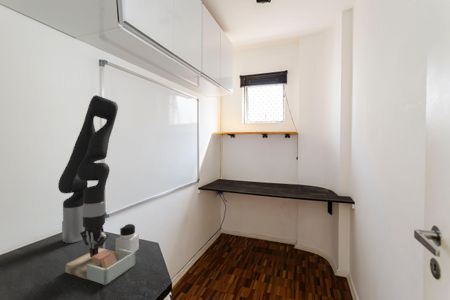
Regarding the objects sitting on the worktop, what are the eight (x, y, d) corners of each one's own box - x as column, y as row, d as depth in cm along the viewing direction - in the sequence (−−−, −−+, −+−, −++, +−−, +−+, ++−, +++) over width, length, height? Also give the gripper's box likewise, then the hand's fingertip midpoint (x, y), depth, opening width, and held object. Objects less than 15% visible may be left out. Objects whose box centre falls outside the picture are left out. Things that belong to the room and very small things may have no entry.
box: (86, 278, 75) (86, 264, 75) (117, 259, 88) (118, 247, 88) (105, 285, 72) (105, 270, 72) (135, 264, 85) (135, 252, 84)
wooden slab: (65, 272, 79) (65, 264, 79) (99, 254, 92) (99, 247, 92) (85, 279, 75) (85, 270, 75) (118, 259, 88) (118, 252, 88)
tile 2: (100, 260, 79) (103, 258, 78) (110, 255, 83) (113, 253, 83) (104, 272, 78) (108, 270, 78) (115, 265, 82) (118, 264, 82)
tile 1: (91, 261, 81) (91, 256, 81) (102, 256, 85) (102, 251, 85) (100, 264, 79) (100, 259, 79) (110, 258, 83) (110, 253, 83)
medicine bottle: (139, 248, 97) (139, 223, 97) (130, 256, 90) (130, 229, 90) (124, 247, 98) (124, 222, 98) (115, 255, 91) (115, 228, 91)
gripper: (72, 213, 82) (73, 257, 82) (97, 218, 77) (97, 265, 77) (91, 208, 89) (91, 249, 89) (114, 212, 84) (114, 255, 84)
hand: (94, 256), depth 83 cm, fingers closed
